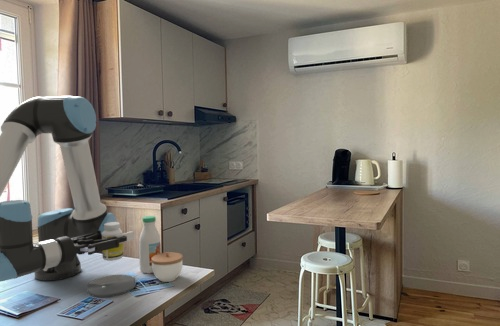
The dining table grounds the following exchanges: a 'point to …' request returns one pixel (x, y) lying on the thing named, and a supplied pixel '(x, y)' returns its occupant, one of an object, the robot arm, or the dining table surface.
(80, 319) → the dining table surface
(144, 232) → the milk bottle
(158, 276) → the lidded jar
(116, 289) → the slate plate
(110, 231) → the pill bottle
